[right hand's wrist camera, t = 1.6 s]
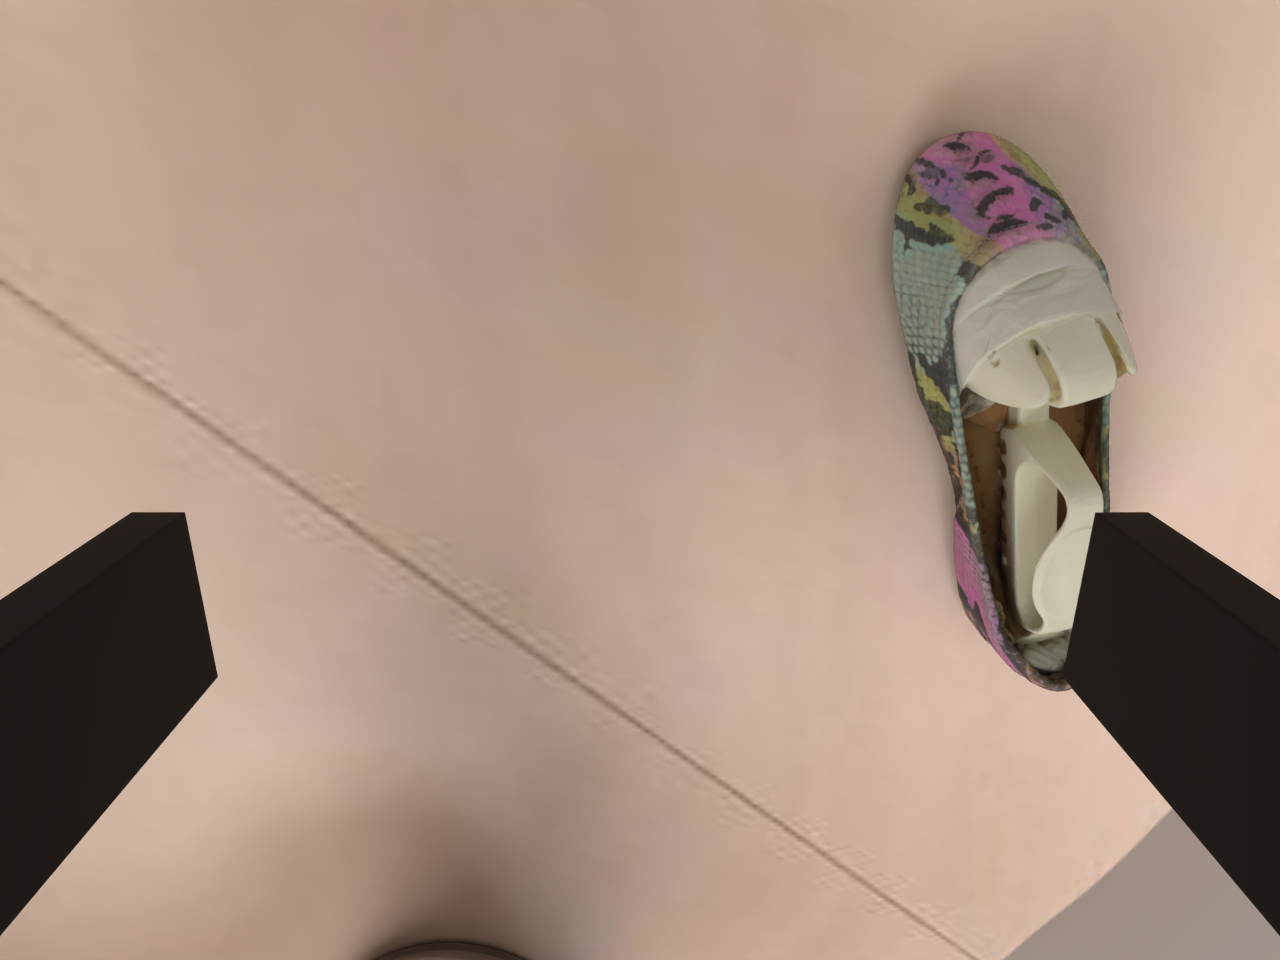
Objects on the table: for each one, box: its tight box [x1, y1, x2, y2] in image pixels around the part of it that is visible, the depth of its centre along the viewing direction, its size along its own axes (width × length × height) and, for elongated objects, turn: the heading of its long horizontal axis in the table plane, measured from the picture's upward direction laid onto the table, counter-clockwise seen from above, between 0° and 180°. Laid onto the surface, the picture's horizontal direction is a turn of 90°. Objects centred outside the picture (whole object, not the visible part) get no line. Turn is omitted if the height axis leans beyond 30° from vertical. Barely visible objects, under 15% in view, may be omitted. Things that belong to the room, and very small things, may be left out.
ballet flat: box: [892, 132, 1137, 691], centre depth 35 cm, size 8×24×9 cm, turn 14°
